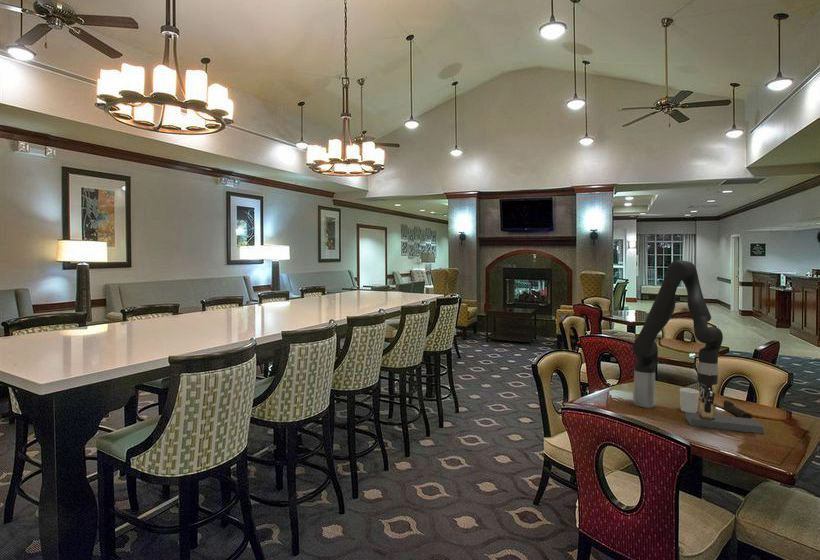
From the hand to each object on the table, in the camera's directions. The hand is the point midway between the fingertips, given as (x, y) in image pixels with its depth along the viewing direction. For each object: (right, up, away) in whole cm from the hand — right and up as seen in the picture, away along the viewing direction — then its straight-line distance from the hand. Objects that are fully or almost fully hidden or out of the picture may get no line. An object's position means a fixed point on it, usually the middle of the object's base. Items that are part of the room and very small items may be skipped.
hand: (706, 410), depth 196 cm
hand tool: (+22, -6, +13) cm, 26 cm away
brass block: (0, -4, 0) cm, 4 cm away
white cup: (+4, -6, +18) cm, 19 cm away
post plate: (+6, -6, -2) cm, 9 cm away
